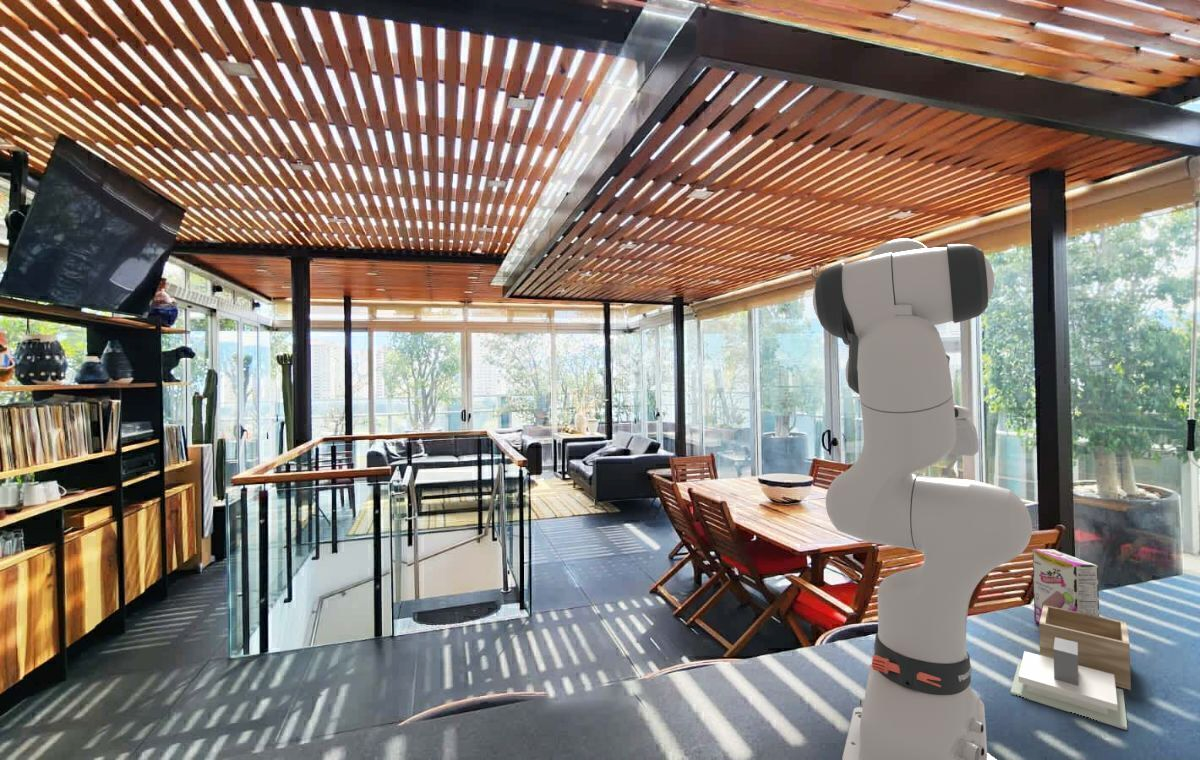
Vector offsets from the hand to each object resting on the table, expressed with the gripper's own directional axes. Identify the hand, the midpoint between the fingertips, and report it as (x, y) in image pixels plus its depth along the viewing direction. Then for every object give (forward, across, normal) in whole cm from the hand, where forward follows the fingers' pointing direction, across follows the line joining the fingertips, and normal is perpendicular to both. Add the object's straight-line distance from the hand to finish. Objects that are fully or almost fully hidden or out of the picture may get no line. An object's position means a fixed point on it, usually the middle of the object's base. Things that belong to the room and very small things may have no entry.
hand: (920, 473), depth 112 cm
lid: (+34, +23, -8) cm, 41 cm away
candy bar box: (+34, +22, +22) cm, 46 cm away
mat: (+34, +23, -8) cm, 42 cm away
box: (+34, +25, +7) cm, 43 cm away
